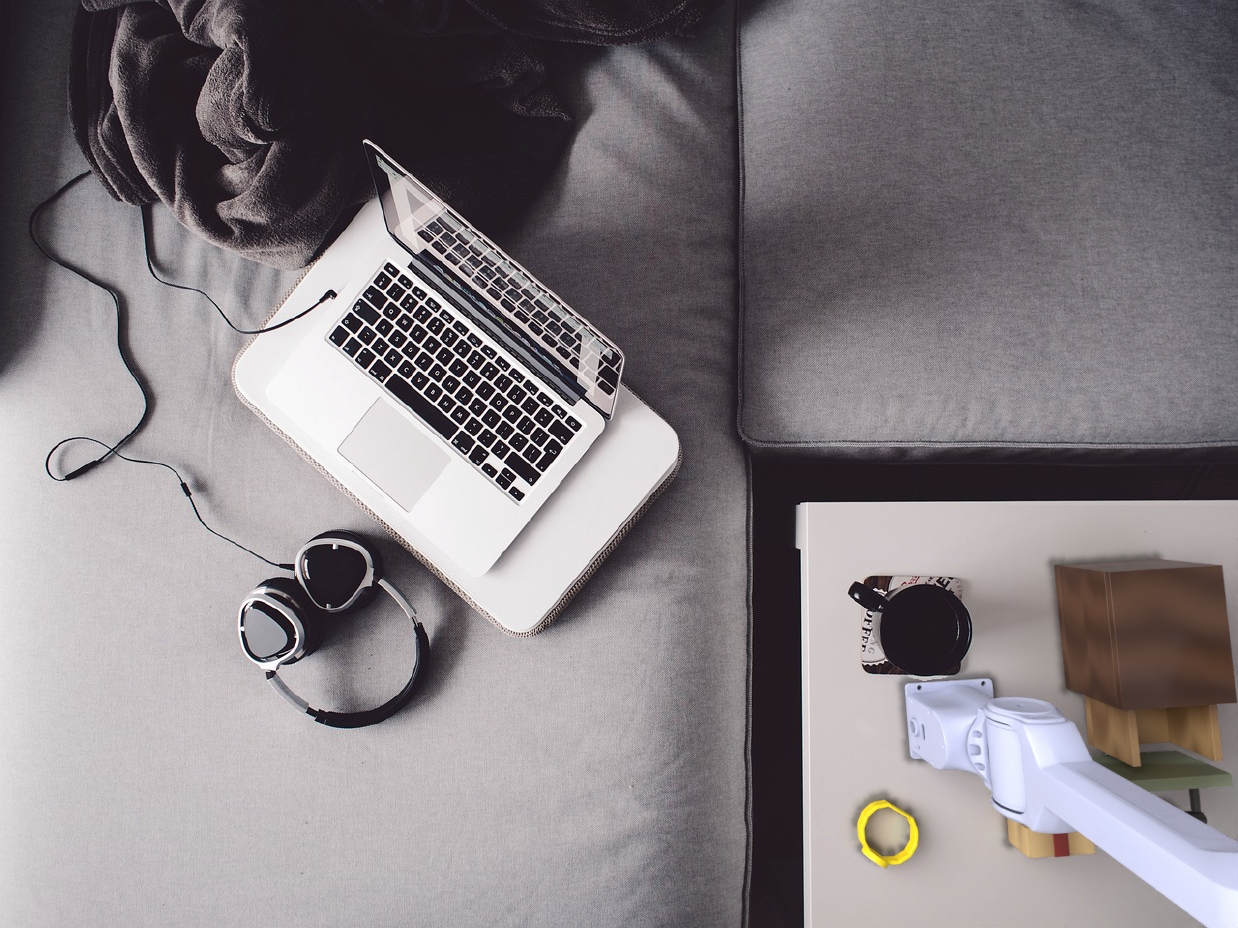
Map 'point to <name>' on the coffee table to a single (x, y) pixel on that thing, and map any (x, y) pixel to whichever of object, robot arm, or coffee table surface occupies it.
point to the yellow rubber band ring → (871, 853)
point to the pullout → (1159, 768)
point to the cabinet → (1146, 633)
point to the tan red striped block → (1047, 842)
